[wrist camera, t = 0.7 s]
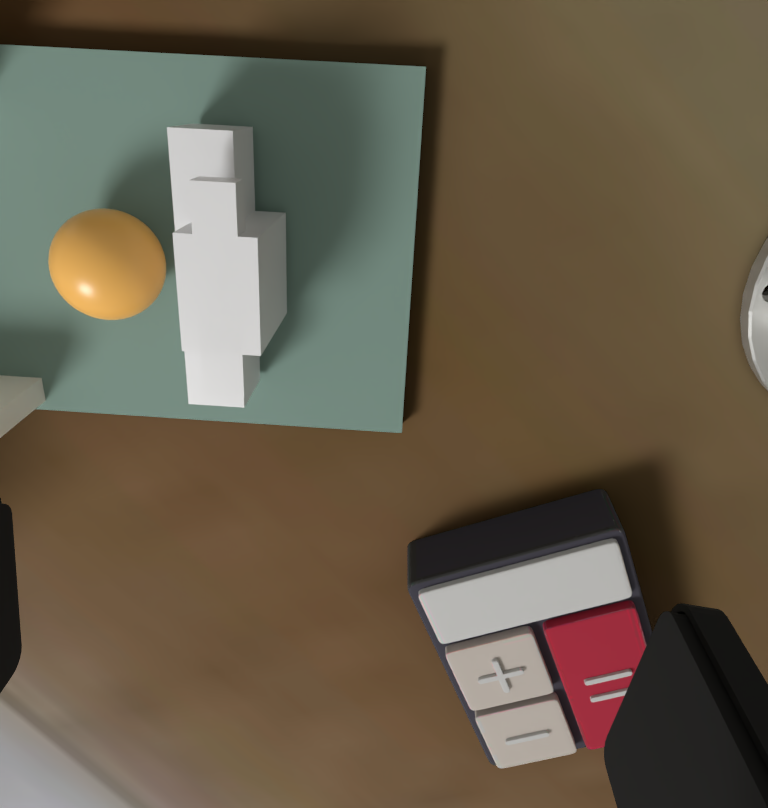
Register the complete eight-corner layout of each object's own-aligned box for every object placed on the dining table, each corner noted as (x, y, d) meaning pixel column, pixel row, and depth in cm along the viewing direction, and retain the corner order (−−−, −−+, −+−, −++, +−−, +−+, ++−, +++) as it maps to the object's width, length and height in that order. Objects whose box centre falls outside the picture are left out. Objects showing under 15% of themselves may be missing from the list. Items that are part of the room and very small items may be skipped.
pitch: (425, 67, 27) (425, 66, 27) (402, 423, 34) (401, 432, 33) (-159, 37, 28) (-178, 35, 27) (-70, 393, 35) (-83, 401, 34)
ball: (176, 204, 29) (137, 222, 25) (184, 305, 31) (148, 337, 27) (72, 198, 29) (16, 215, 25) (86, 299, 31) (36, 331, 27)
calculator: (492, 780, 40) (404, 596, 34) (485, 716, 44) (404, 540, 37) (684, 740, 38) (628, 536, 31) (658, 677, 42) (604, 484, 35)
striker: (284, 128, 27) (254, 136, 22) (287, 380, 32) (263, 434, 27) (193, 123, 28) (143, 130, 23) (209, 375, 32) (170, 428, 27)
